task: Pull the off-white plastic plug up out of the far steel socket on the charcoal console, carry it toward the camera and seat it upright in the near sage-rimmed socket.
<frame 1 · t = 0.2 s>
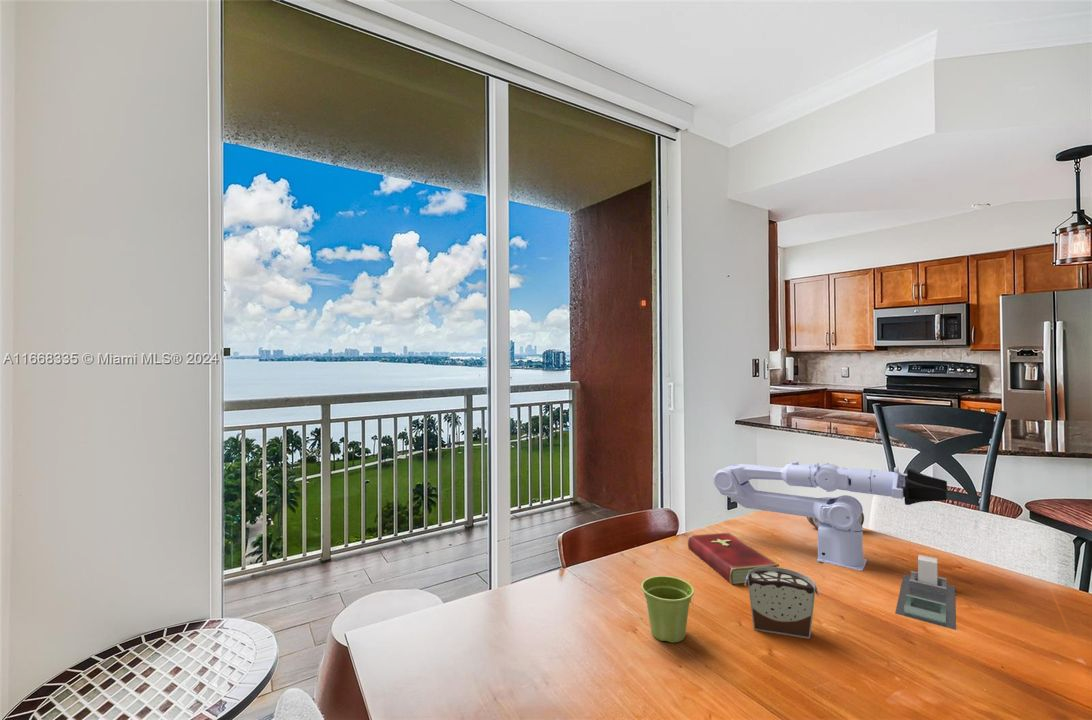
hand: (946, 490, 105), 21 cm above the table, tool horizontal, fingers open, 7 cm apart
plant pot: (667, 635, 88), on the table
console: (926, 600, 99), on the table
grey brown curved-top block: (779, 626, 90), on the table
hardcover book: (729, 565, 118), on the table
tin: (835, 531, 140), on the table
plug: (927, 586, 104), resting on console
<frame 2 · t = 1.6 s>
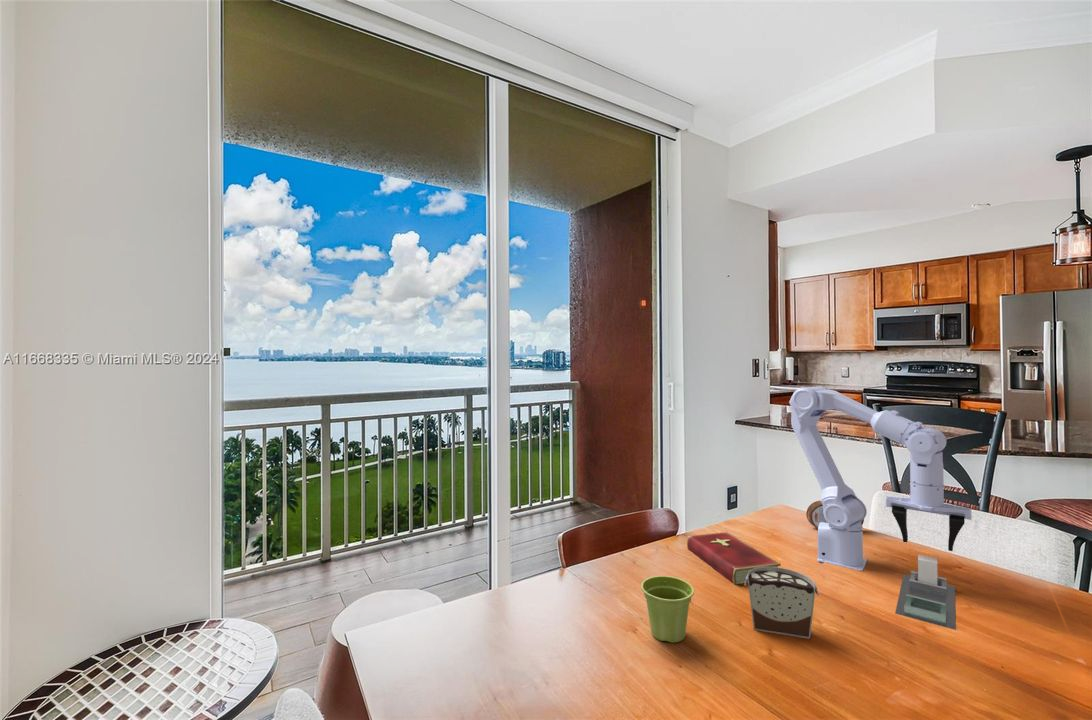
hand: (927, 545, 104), 9 cm above the table, tool pointing down, fingers open, 7 cm apart
nothing on the table moved.
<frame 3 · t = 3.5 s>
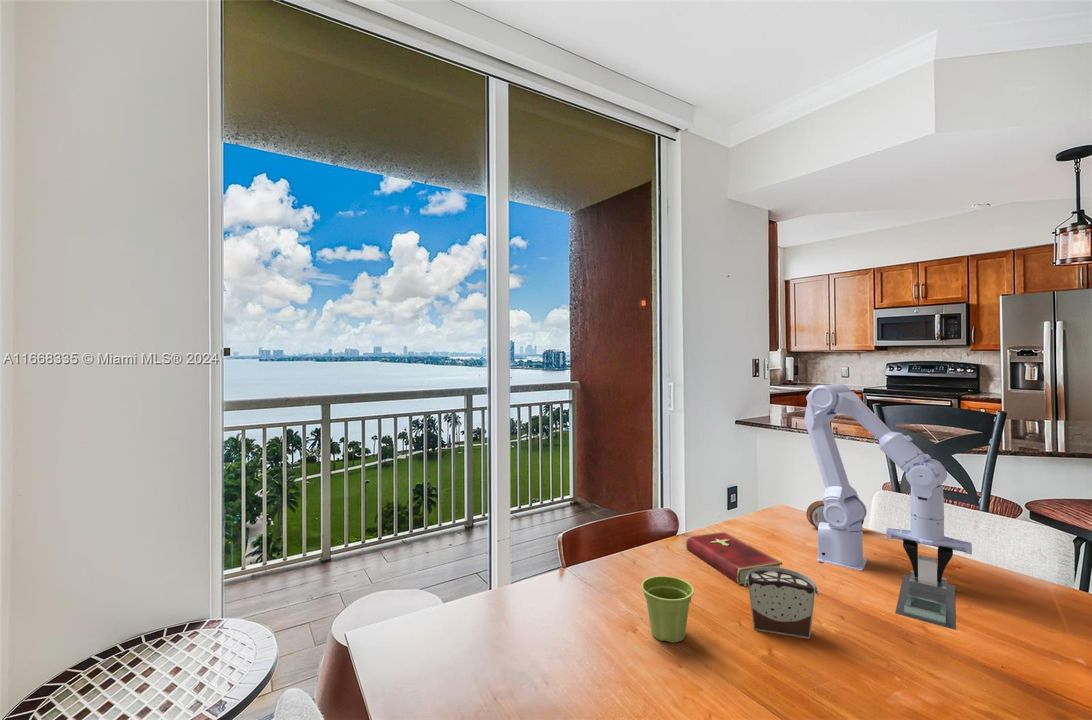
hand: (927, 578, 104), 2 cm above the table, tool pointing down, fingers closed on plug, 3 cm apart
plug: (927, 586, 104), resting on console, touching gripper
everything else where it was.
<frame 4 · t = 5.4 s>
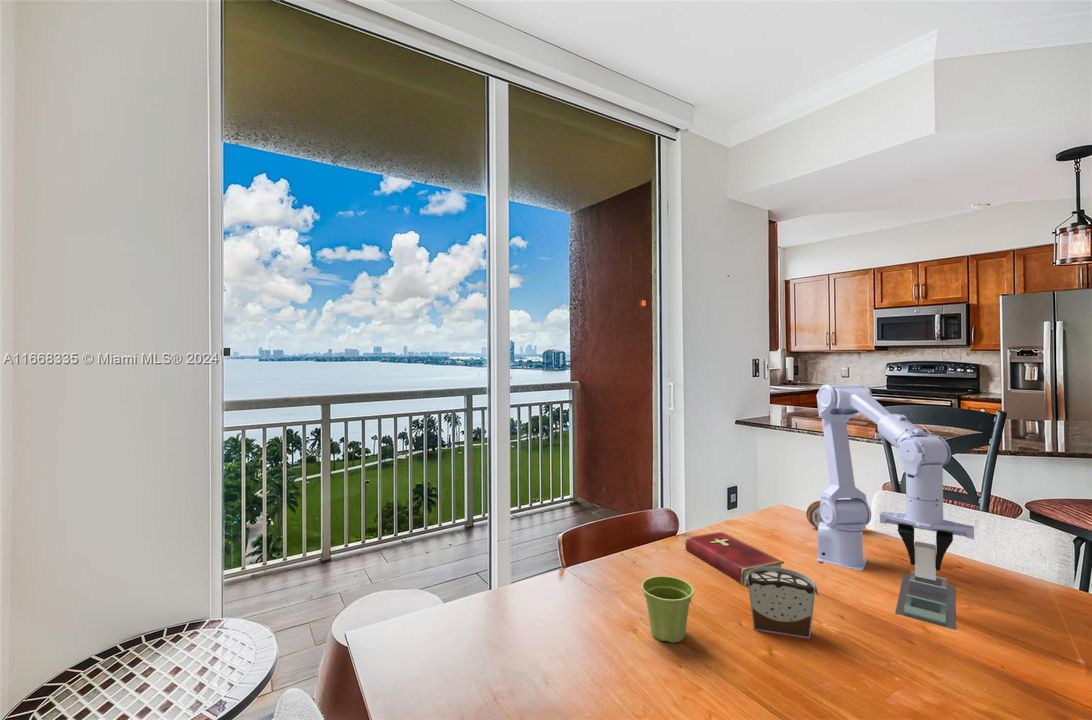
hand: (925, 566, 94), 9 cm above the table, tool pointing down, fingers closed on plug, 3 cm apart
plug: (925, 575, 94), point 7 cm above the table, touching gripper
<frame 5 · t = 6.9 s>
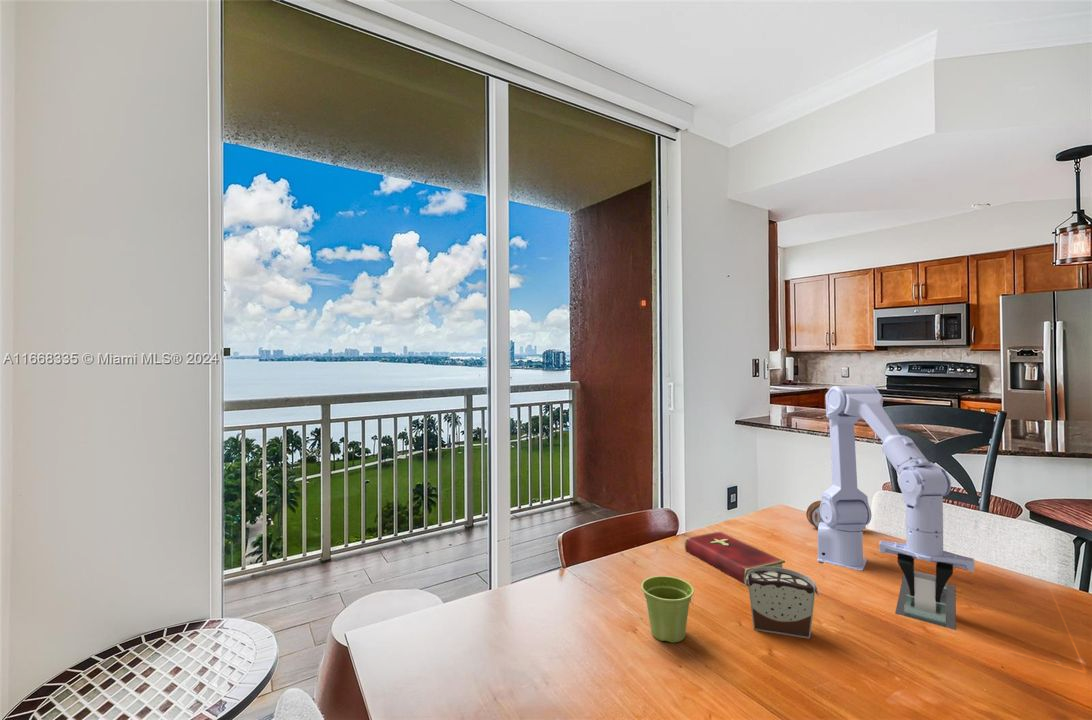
hand: (925, 597, 93), 3 cm above the table, tool pointing down, fingers closed on plug, 3 cm apart
plug: (925, 606, 94), point 1 cm above the table, touching gripper
when the fingers open (3 cm above the table, at t = 7.7 s): plug stays where it is, resting on console.
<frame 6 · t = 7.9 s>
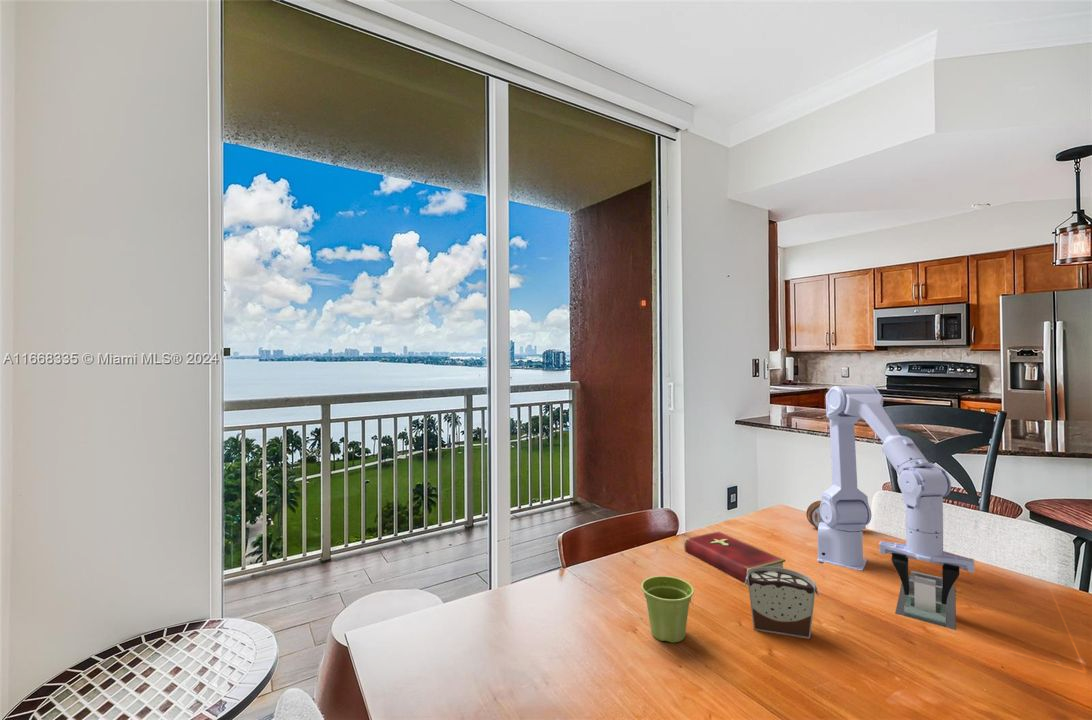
hand: (925, 597, 93), 3 cm above the table, tool pointing down, fingers open, 5 cm apart
plug: (925, 611, 94), resting on console
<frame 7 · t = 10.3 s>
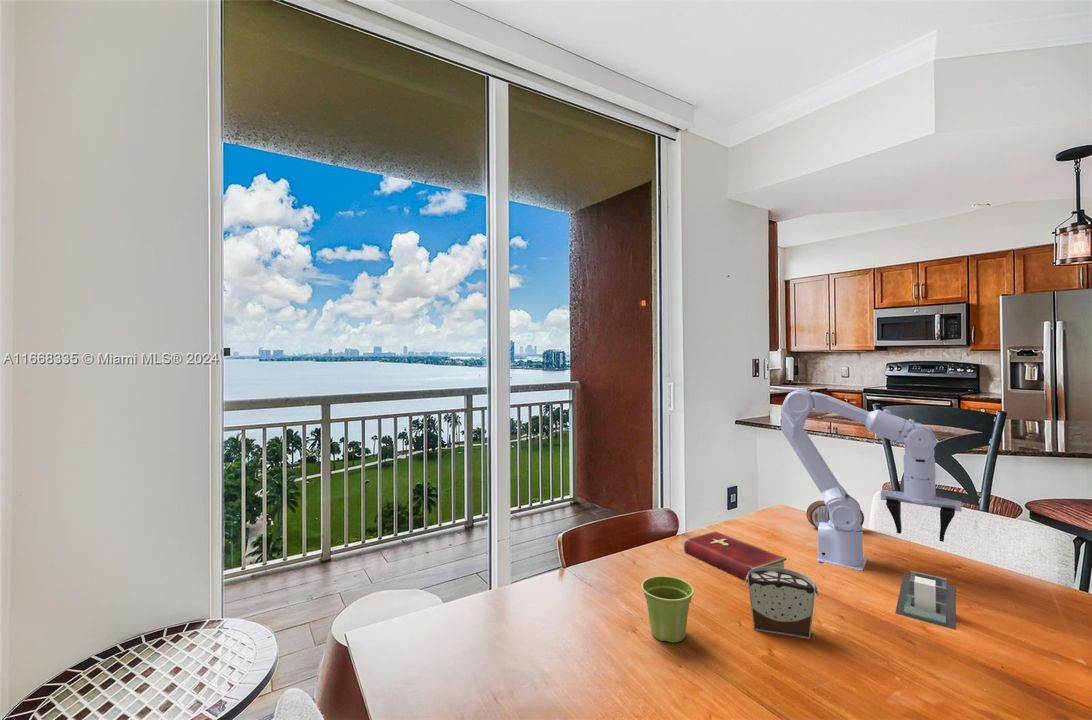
hand: (920, 536, 109), 9 cm above the table, tool pointing down, fingers open, 7 cm apart
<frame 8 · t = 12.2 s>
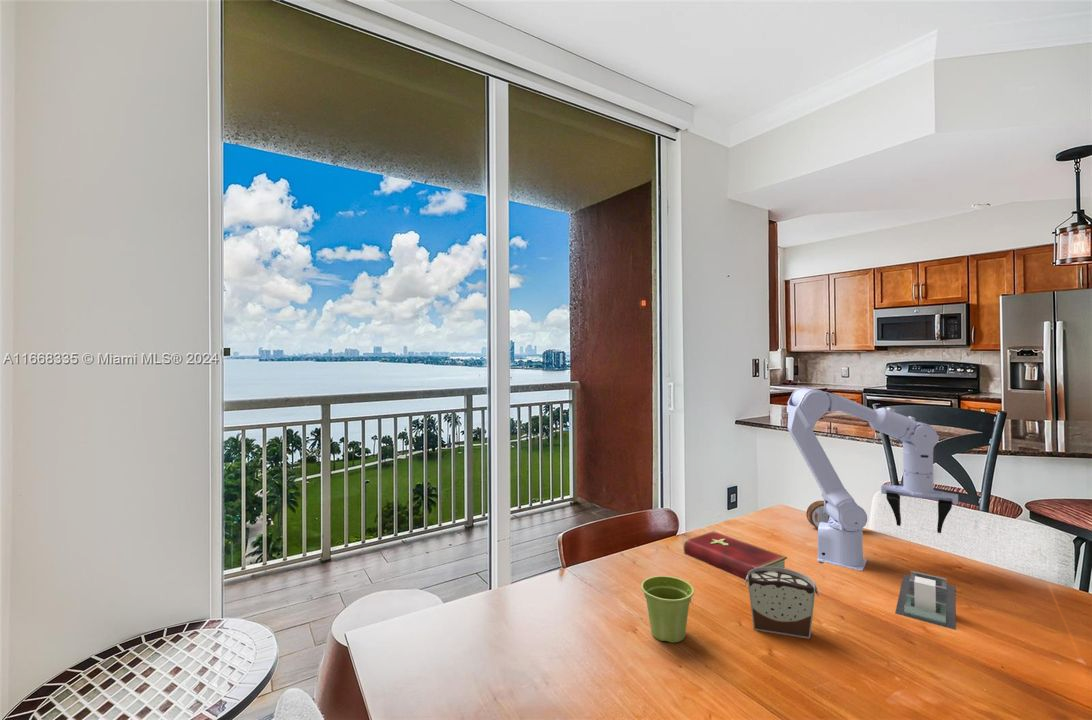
hand: (918, 528, 114), 9 cm above the table, tool pointing down, fingers open, 7 cm apart
at the end: plug 0.5 cm from the target spot on the console, point 0.4 cm above the console's base; plug tilted 0°; the gripper is holding nothing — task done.
